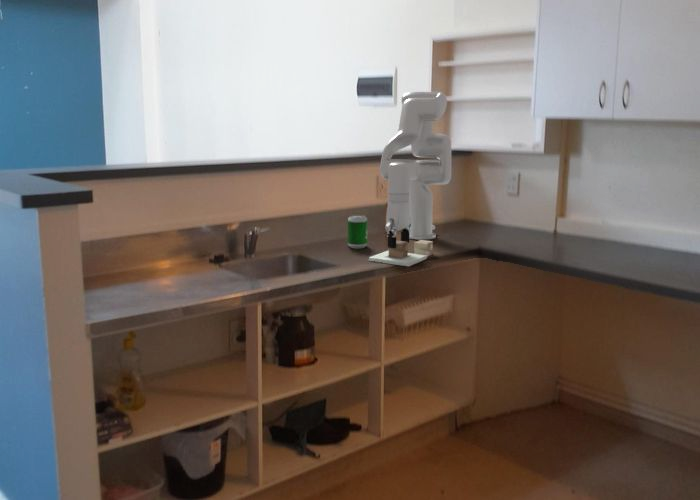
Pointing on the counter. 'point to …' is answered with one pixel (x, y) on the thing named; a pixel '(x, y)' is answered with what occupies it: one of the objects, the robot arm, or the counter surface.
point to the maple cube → (423, 247)
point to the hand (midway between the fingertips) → (398, 245)
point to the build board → (398, 259)
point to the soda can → (357, 231)
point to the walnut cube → (399, 250)
